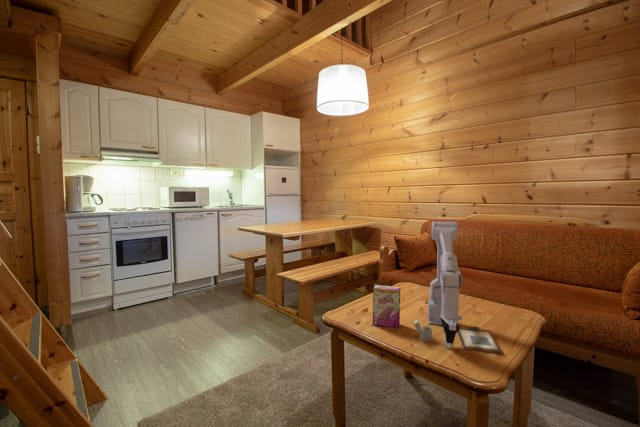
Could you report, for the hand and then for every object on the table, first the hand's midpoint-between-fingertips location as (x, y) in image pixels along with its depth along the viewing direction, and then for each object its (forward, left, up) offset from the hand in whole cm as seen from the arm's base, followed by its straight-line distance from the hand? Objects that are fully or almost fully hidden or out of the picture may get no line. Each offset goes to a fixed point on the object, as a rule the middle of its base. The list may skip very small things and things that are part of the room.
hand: (449, 340), depth 108 cm
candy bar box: (-23, +13, -3) cm, 27 cm away
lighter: (-9, +3, -3) cm, 10 cm away
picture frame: (+11, +8, -3) cm, 14 cm away
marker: (0, 0, -2) cm, 2 cm away
